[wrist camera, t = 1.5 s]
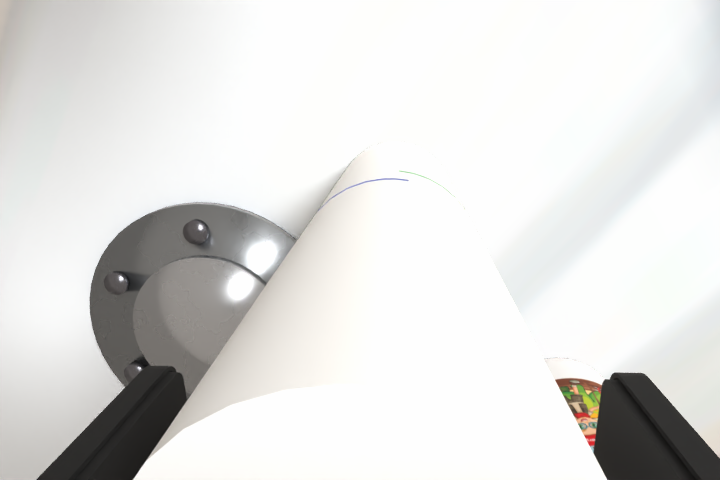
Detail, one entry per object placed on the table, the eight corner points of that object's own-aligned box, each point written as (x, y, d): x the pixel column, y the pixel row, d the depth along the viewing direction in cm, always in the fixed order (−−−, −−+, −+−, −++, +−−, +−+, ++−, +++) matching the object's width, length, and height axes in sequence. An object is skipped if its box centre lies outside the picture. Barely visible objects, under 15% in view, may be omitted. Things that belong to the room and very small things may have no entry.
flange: (70, 204, 32) (58, 209, 31) (332, 199, 30) (329, 203, 29) (121, 425, 37) (112, 435, 36) (345, 430, 36) (343, 442, 35)
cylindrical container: (333, 145, 29) (42, 389, 6) (449, 137, 28) (689, 377, 5) (343, 253, 31) (165, 764, 8) (452, 248, 31) (625, 794, 7)
